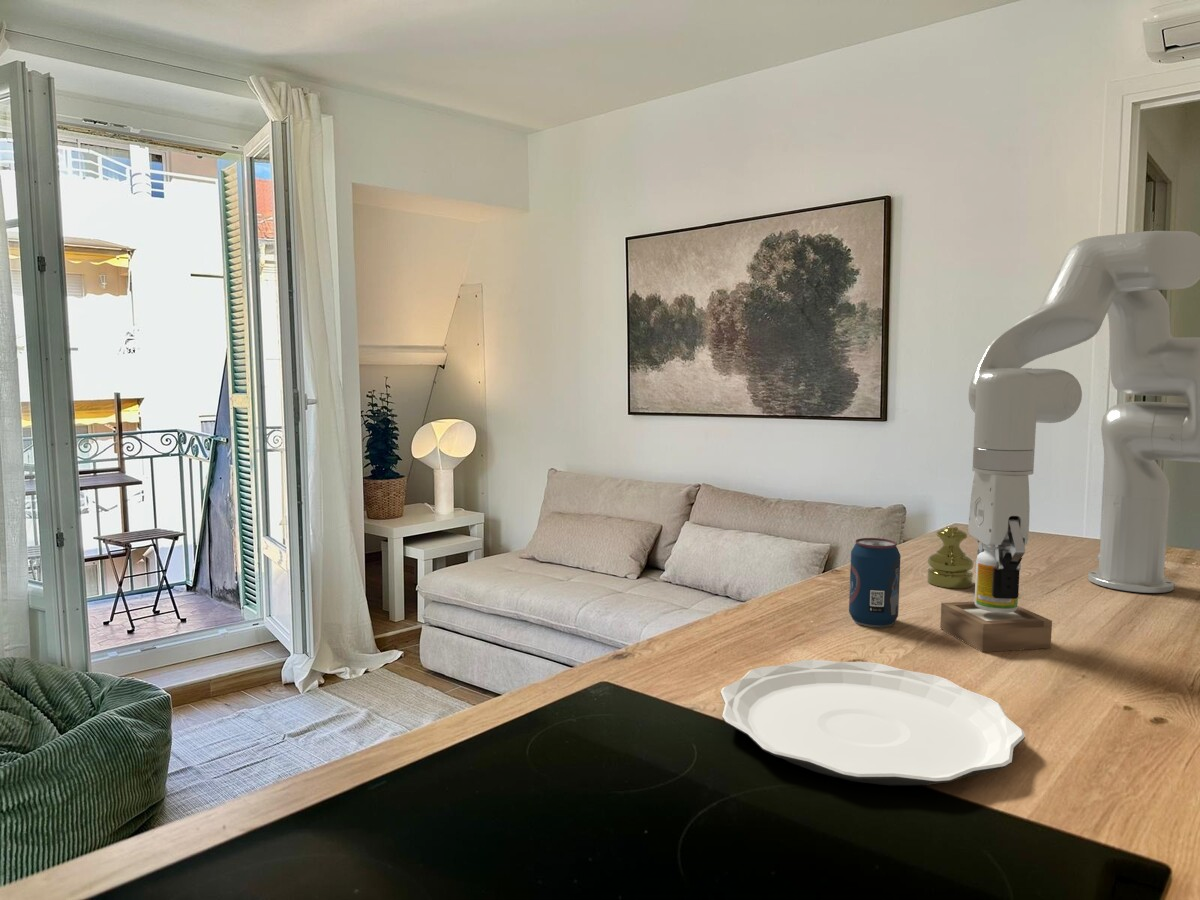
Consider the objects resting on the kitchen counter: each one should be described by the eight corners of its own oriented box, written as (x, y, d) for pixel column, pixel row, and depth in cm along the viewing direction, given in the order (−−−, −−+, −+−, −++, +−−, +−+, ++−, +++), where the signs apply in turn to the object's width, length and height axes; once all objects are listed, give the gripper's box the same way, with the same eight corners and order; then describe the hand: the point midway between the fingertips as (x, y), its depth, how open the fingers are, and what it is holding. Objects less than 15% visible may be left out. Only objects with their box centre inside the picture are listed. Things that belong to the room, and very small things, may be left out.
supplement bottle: (1022, 614, 113) (1025, 544, 112) (979, 612, 114) (982, 542, 113) (1011, 603, 119) (1014, 535, 118) (970, 601, 120) (973, 534, 119)
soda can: (846, 613, 128) (849, 536, 127) (894, 616, 127) (897, 538, 126) (850, 627, 122) (853, 545, 120) (901, 630, 120) (904, 547, 119)
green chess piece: (981, 585, 145) (984, 528, 144) (956, 591, 141) (959, 533, 140) (943, 576, 151) (945, 521, 150) (917, 582, 147) (920, 525, 146)
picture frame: (940, 628, 121) (941, 602, 121) (1003, 625, 122) (1005, 600, 122) (982, 652, 111) (983, 624, 111) (1050, 648, 113) (1052, 620, 112)
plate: (843, 833, 68) (844, 805, 68) (671, 701, 95) (671, 681, 95) (1090, 766, 80) (1091, 742, 80) (875, 665, 107) (876, 647, 107)
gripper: (954, 454, 123) (949, 575, 125) (996, 469, 106) (990, 609, 108) (1008, 455, 122) (1002, 576, 124) (1059, 469, 105) (1051, 610, 107)
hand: (996, 590), depth 116 cm, fingers closed on supplement bottle, 5 cm apart
